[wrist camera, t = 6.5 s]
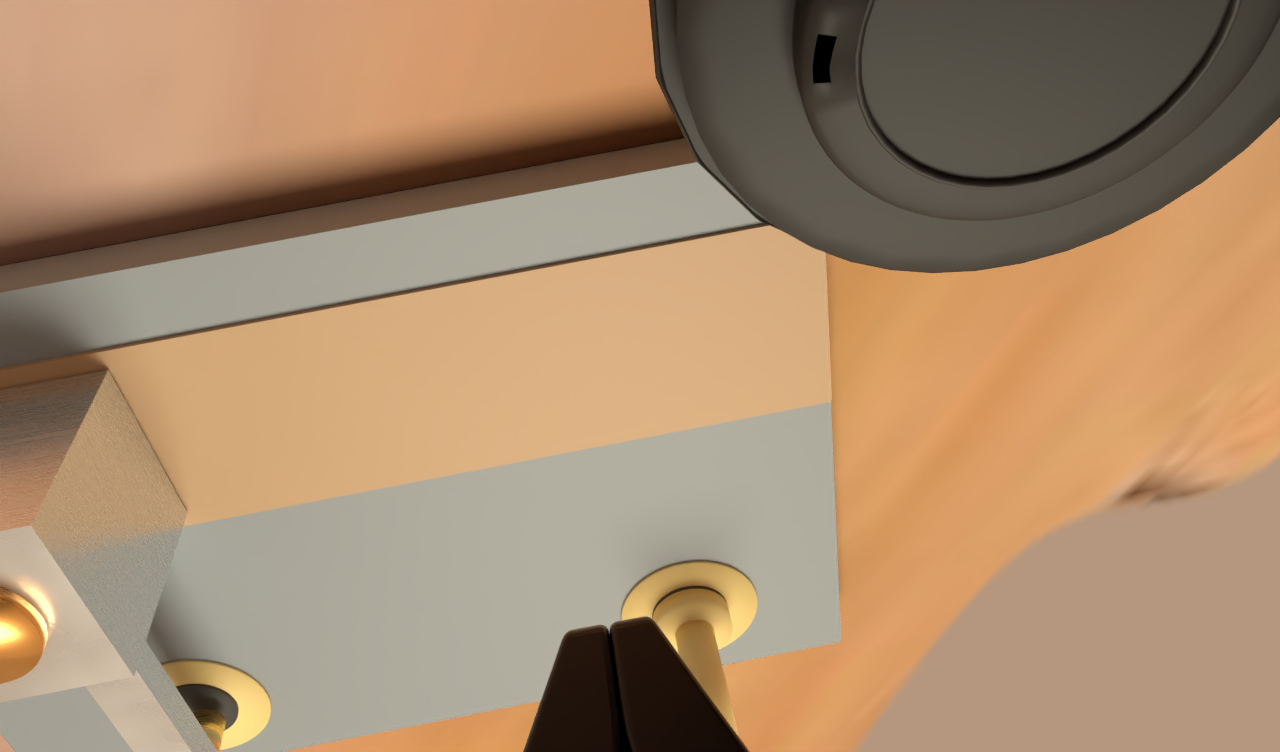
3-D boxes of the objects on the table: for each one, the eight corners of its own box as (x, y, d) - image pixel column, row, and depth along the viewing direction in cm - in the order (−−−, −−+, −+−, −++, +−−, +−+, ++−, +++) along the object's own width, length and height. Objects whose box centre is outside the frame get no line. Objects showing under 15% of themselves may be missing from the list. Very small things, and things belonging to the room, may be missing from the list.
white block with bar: (108, 370, 21) (24, 537, 17) (292, 703, 27) (262, 880, 23) (-91, 407, 21) (-220, 584, 17) (141, 733, 27) (86, 915, 23)
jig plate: (804, 115, 21) (889, 242, 17) (829, 608, 30) (889, 775, 26) (-286, 319, 21) (-489, 504, 16) (67, 758, 30) (-4, 953, 25)
